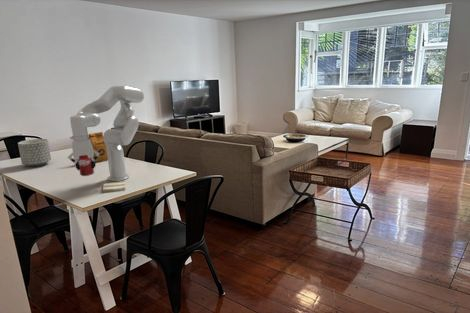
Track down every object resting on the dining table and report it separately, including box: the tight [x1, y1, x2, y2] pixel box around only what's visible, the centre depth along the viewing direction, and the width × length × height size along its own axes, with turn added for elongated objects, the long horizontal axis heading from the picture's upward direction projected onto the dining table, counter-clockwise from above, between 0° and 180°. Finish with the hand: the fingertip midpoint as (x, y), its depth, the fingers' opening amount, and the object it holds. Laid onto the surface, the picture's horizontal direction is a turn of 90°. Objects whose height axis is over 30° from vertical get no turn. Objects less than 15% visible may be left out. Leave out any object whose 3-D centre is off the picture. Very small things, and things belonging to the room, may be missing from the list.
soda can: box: [78, 155, 95, 177], centre depth 184 cm, size 7×7×12 cm
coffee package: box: [88, 131, 108, 163], centre depth 250 cm, size 10×12×22 cm
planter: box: [17, 138, 52, 168], centre depth 243 cm, size 19×19×18 cm
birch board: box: [102, 180, 126, 194], centre depth 191 cm, size 12×12×2 cm
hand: (86, 168), depth 184 cm, fingers closed on soda can, 7 cm apart
